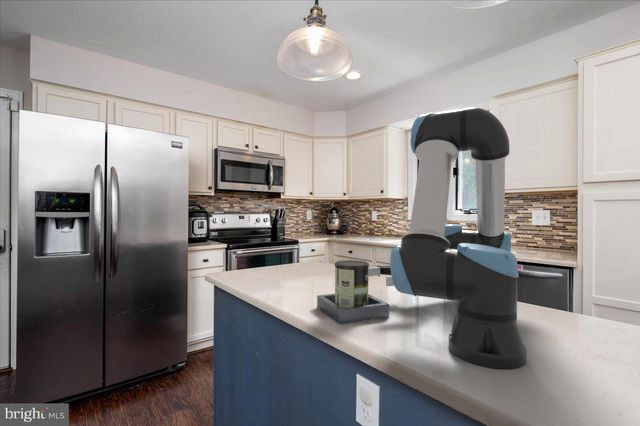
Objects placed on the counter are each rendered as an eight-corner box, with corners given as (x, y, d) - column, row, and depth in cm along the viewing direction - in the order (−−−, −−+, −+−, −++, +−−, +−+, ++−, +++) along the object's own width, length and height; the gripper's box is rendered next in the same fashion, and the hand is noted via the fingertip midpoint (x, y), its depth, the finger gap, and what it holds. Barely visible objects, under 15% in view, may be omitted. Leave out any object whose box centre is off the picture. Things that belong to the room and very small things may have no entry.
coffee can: (366, 304, 103) (366, 260, 102) (370, 315, 92) (371, 266, 92) (334, 303, 103) (334, 259, 103) (334, 314, 93) (335, 265, 92)
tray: (389, 317, 93) (389, 304, 93) (339, 324, 87) (339, 310, 87) (361, 301, 108) (361, 290, 108) (317, 307, 102) (317, 295, 102)
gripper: (456, 291, 97) (398, 299, 89) (404, 275, 120) (354, 280, 112) (456, 266, 97) (398, 272, 89) (404, 255, 120) (354, 258, 112)
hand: (374, 276), depth 100 cm, fingers open, 13 cm apart
